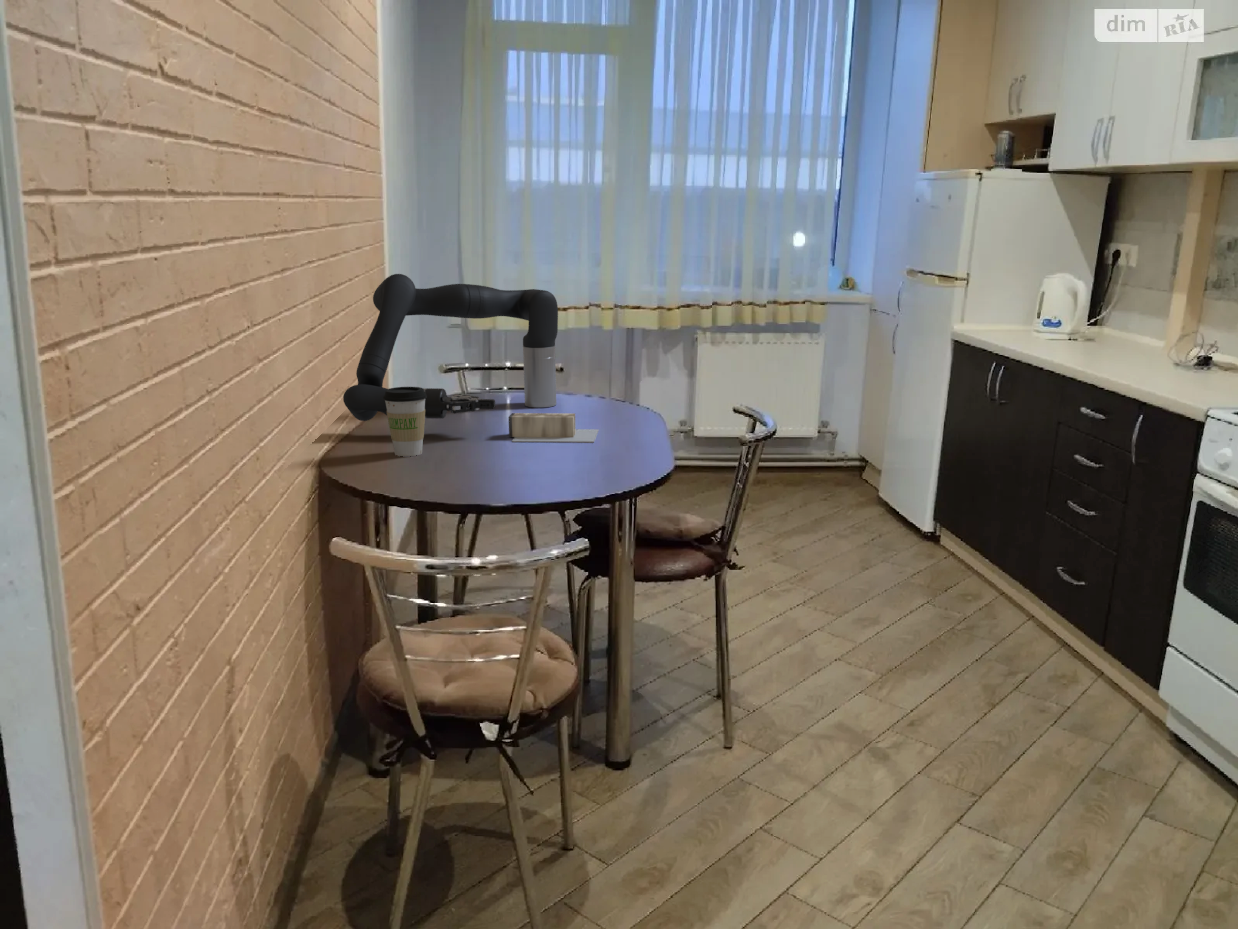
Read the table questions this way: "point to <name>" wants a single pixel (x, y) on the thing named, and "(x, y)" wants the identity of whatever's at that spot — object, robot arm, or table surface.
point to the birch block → (542, 425)
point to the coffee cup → (406, 419)
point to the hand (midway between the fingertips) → (494, 404)
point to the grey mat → (579, 437)
